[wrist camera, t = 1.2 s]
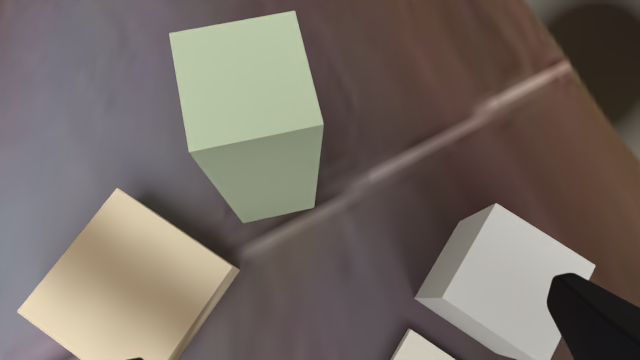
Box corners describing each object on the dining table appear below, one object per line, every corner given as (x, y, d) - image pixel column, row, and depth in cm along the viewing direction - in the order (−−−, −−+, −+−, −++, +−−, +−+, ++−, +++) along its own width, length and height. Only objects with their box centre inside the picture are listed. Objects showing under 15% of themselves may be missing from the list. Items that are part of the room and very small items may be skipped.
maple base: (159, 389, 22) (138, 402, 19) (52, 310, 23) (16, 311, 20) (240, 270, 24) (232, 266, 21) (138, 201, 25) (117, 187, 22)
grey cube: (495, 353, 23) (546, 367, 18) (413, 298, 24) (441, 297, 19) (537, 272, 24) (595, 265, 19) (458, 221, 25) (496, 202, 20)
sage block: (314, 207, 25) (324, 124, 13) (243, 223, 24) (188, 152, 13) (298, 141, 26) (294, 10, 14) (230, 156, 25) (168, 33, 14)
